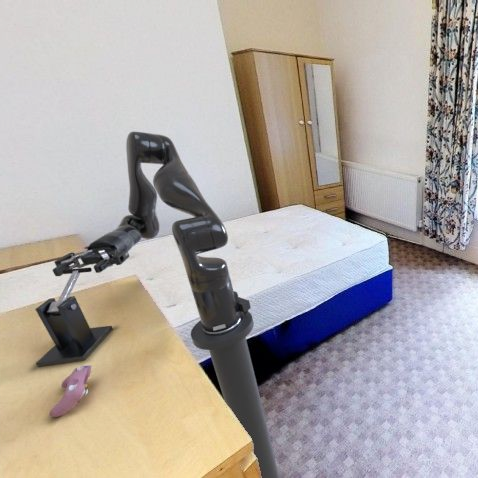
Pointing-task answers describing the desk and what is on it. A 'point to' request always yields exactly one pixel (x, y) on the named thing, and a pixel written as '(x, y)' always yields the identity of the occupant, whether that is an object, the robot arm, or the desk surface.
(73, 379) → the pink curved piece
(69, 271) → the lever
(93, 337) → the bracket
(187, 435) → the desk surface
